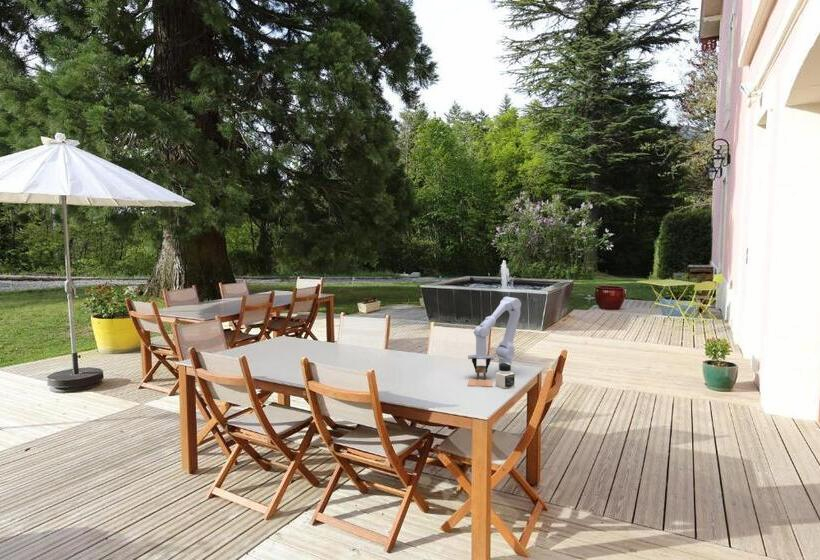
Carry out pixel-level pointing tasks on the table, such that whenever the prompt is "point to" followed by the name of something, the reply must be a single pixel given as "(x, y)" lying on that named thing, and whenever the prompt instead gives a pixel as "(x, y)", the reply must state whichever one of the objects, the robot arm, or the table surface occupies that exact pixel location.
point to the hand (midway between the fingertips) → (481, 372)
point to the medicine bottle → (505, 376)
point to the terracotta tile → (480, 383)
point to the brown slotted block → (481, 371)
